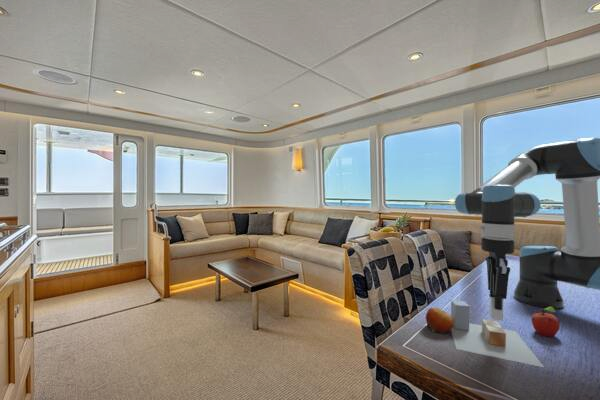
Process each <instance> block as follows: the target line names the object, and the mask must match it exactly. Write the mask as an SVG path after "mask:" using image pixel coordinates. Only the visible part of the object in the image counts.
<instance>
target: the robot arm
mask: <svg viewBox="0 0 600 400" xmlns="http://www.w3.org/2000/svg"><path fill="white" fill-rule="evenodd" d="M541 175H542V176H543V175H555V180H557V181H558V182H559V183H561V190H562V191H561V192H562V205H563V217H564V221H563V222H564V232H565V245H564V246H563V247H561V248H560V251H559V248H558V247H557V246H551V245H525V246H522V247H521V248H520V249H519V255H518V258H519V279H518V281H517V283H516V286H515V289H514V291H513V297H514V299H515V300H516V299H517V300H518V301H520V302H522V303H525V304H528V305H532V306H536V307H541V308H547V307H553V308H554V309H562V308H564V298H563V297H562V294H561V292H560V289H559V286H558V282H561V283H566V284H570V285H574V286H578V287H583V288H586V289H592V290H593V289H594V290H597V291H600V209H599V206H600V205H599V192H598V190H599V189H598V181H599V180H600V138H599V137H587V138H579V139H571V140H567V141H566V140H565V141H559V142H554V143H546V144H541V145H538V146H537V145H536V146H535V147H532V148H530V149H528V150H526V151H524V152H522V153H519V155H517V156H515V157H514V158H512V159H511V160H509V162H508V164H507V166H506V167H504V168H503V169H501V170H500V171H499V172H498V173H496V174H495V175H494V176H491V178H489V179H488V180H486V181H485V182H484V183H483V184H481V185H480V186H478V187H477V188H476V189H474V190H473V191H471V192H464V193H459V194H458V195H457V196H456V197H455V200H454V206H455V209H456V211H457V212H458V213H459V214H463V215H464V214H465V215H480V216H481V225H480V226H479V229H480V230H481V236H482V238H481V243H480V244H481V247H480V248H481V250H482V251H484V252H487V253H488V256H487V257H486V258H485V262H486V274H487V275H486V276H487V290H488V291H489V294H488V295H489V297H490V298H489V299H490V300H489V301H490V302H489V305H490V306H489V309H490V311H489V317H490V319H491V320H493V321H500V322H504V299H505V300H506V299H507V298H508V297H507V295H508V285H509V277H510V272H511V268H510V266H508V264H509V263H508V259H507V257H506V255H508V254H509V255H511V254H513V253H515V241H514V240H513V239H515V233H516V231H515V226H516V225H515V224H516V223H515V218H527V217H531V216H534V215H536V214H538V212H539V211H540V208H541V205H542V204H541V200H540V198H538V197H537V196H536V195H535V194H532V193H529V192H525V191H522V192H521V191H519V192H518V191H517V192H516V190H515V189H516V187H517V186H519V185H520V184H521V183H523V182H524V181H526V180H530V179H532V178H533V177H535V176H536V177H537V176H541Z"/></svg>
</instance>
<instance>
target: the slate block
mask: <svg viewBox="0 0 600 400" xmlns="http://www.w3.org/2000/svg"><path fill="white" fill-rule="evenodd" d="M450 307H451V308H450V309H451V311H450V316H451V317H452V319H453V321H454V325H453V327H454V328H455V329H458V330H467V331H469V323H470V305H469V304H468V303H467V302H466V301H464V300H463V301H462V300H455V299H454V300H453V299H452V300H450Z"/></svg>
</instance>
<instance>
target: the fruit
mask: <svg viewBox="0 0 600 400" xmlns="http://www.w3.org/2000/svg"><path fill="white" fill-rule="evenodd" d="M425 314H426V315H425V321H426V324H427V325H426V326H427V327H428V328H430V330H431V331H432V333H441V334H446V333H449V332H451V329H452V327H453V325H454V321H453V319H452V317H451V314H449V313H447V312H446V310H443V309H442V308H439V307H430V308H429V309H427V311H426V313H425Z"/></svg>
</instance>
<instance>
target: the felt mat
mask: <svg viewBox="0 0 600 400" xmlns="http://www.w3.org/2000/svg"><path fill="white" fill-rule="evenodd" d="M502 329H503V328H502ZM503 330H504V332H505V333H506V348H505V347H500V346H495V345H490V344H488V342H487V340H486V338H485V336H484V335H483V333H482V324H475V323H471V322H469V331H467V330H458V329H455V328H454V327H452V329H451V330H450V332H451V335H452V339H453V342H454V345H455V349H456V350H459V351H464V352H468V353H472V354H477V355H478V354H479V355H483V356H487V357H493V358H495V359H496V358H497V359H502V360H507V361H511V362H515V363H521V364H526V365H530V366H535V367H540V368H545V366H544V365H543V364H542V363H541V361H540V360H539V359H538V357H537V356H536V355H535V353H534V352H533V351H532V350H531V349H530V348H529V345H527V343H526V342H525V341H524V340H523V338H522V337H521V336H520V335H519V334H518V332H517V331H515V330H509V329H506V328H505V329H503Z"/></svg>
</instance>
